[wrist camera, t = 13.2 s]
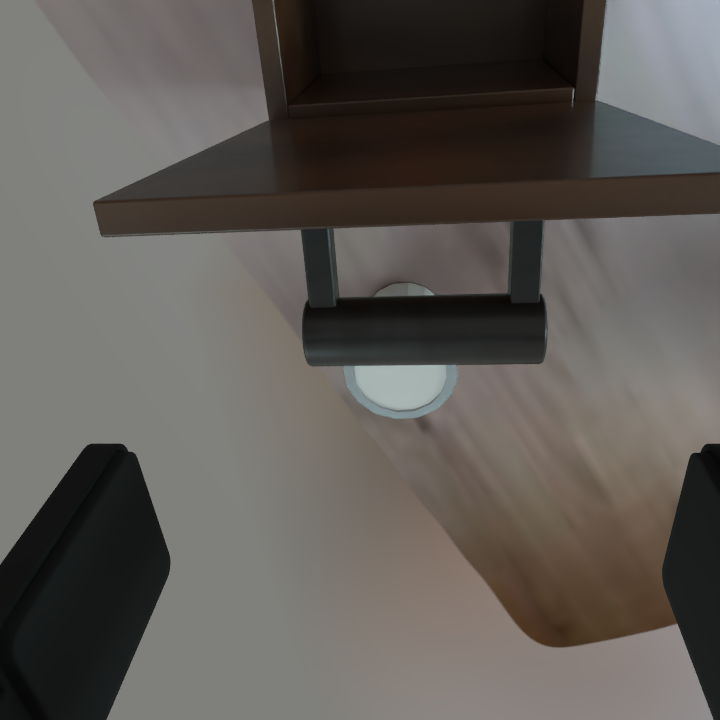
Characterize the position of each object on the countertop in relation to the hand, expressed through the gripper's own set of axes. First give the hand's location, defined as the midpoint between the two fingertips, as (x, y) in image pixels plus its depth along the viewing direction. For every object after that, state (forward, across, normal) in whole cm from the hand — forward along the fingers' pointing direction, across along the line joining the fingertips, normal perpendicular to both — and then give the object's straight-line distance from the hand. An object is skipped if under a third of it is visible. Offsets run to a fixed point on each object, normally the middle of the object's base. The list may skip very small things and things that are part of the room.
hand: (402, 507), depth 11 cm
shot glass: (+31, +2, +13) cm, 34 cm away
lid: (+12, 0, -4) cm, 13 cm away
